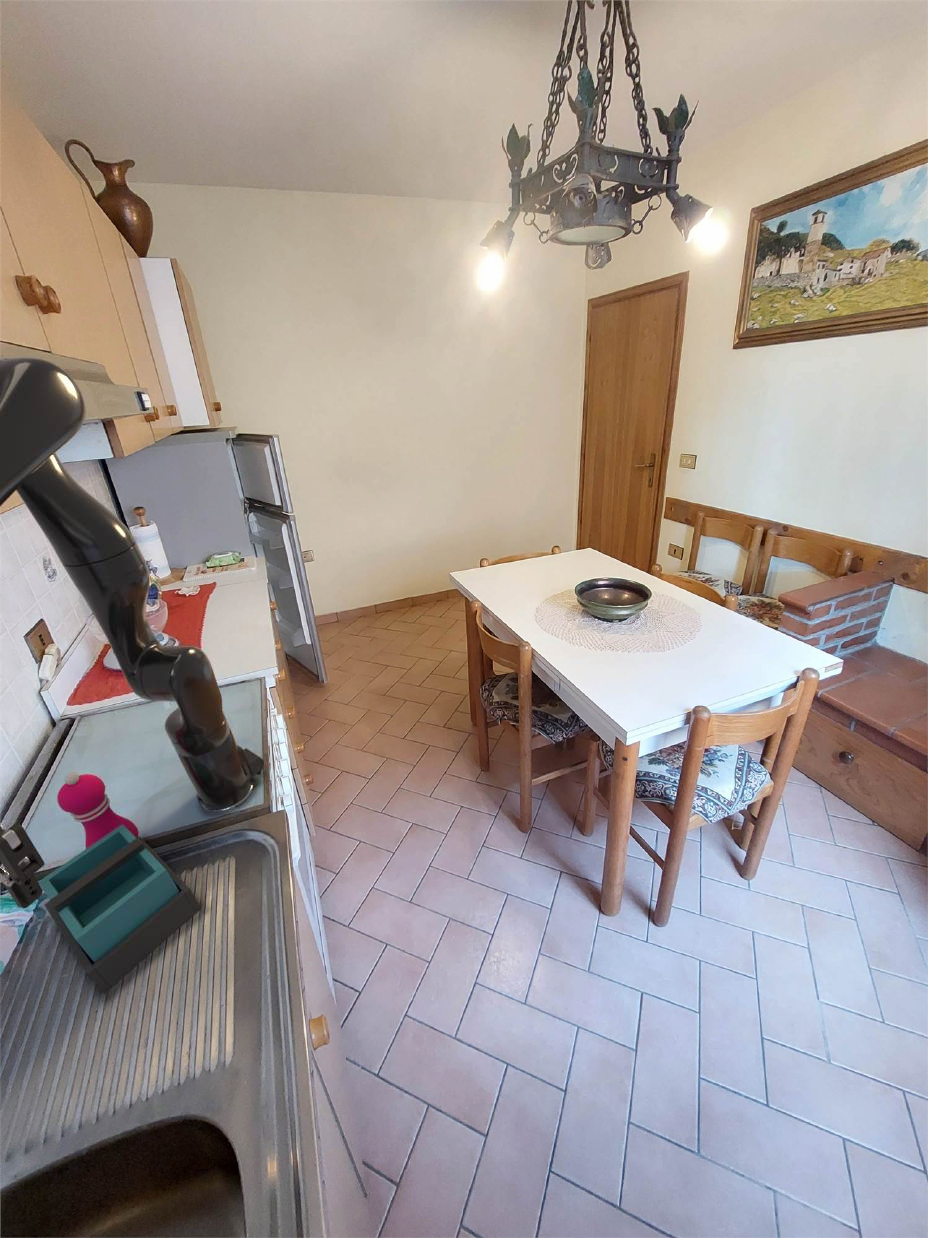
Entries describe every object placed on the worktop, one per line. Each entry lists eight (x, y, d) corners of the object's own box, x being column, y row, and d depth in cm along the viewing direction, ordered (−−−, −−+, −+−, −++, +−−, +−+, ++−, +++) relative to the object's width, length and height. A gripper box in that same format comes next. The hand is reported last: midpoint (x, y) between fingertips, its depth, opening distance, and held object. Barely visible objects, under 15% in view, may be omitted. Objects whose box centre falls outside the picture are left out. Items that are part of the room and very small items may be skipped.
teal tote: (147, 863, 83) (119, 818, 77) (190, 910, 75) (162, 864, 69) (71, 922, 75) (33, 876, 70) (110, 981, 67) (71, 935, 62)
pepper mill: (125, 880, 81) (67, 795, 72) (89, 874, 83) (28, 791, 73) (157, 841, 87) (107, 759, 78) (123, 837, 89) (70, 755, 79)
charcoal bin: (153, 858, 84) (139, 836, 82) (203, 911, 75) (189, 888, 73) (62, 927, 75) (43, 904, 72) (107, 997, 66) (87, 974, 63)
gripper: (25, 763, 51) (83, 875, 57) (-75, 752, 54) (-10, 859, 61) (-59, 818, 44) (17, 938, 51) (-167, 801, 48) (-83, 916, 54)
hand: (2, 895), depth 56 cm, fingers open, 8 cm apart
